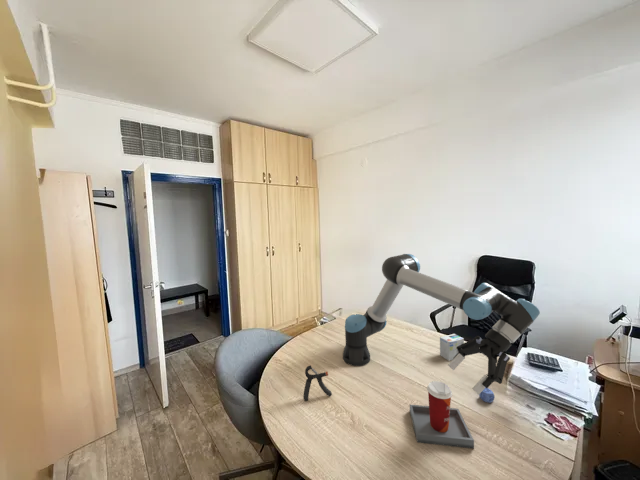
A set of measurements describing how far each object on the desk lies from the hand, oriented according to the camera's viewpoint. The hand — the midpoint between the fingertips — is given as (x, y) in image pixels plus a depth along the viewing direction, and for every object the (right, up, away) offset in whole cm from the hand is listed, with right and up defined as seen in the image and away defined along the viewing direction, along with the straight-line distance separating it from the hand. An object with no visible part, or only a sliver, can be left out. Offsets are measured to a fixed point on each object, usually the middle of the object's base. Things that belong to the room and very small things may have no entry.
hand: (462, 379), depth 91 cm
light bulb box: (+21, -14, +48) cm, 54 cm away
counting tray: (-8, -19, +1) cm, 20 cm away
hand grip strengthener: (-53, -19, +19) cm, 59 cm away
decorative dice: (+19, -17, +15) cm, 29 cm away
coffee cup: (-8, -18, +1) cm, 20 cm away
